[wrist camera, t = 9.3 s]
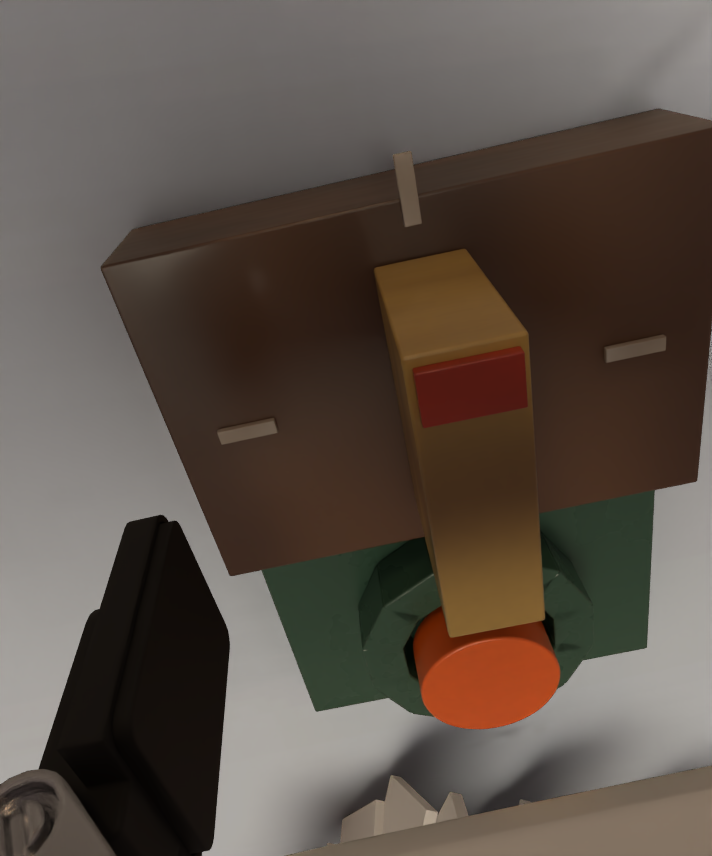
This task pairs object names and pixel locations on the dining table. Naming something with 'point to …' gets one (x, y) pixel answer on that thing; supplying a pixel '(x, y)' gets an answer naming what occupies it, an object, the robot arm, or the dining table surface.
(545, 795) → the dining table surface
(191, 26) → the dining table surface
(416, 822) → the spiral staircase
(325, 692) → the button housing
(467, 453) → the yellow box red tab
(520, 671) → the button
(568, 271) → the control panel
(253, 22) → the dining table surface
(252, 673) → the dining table surface
